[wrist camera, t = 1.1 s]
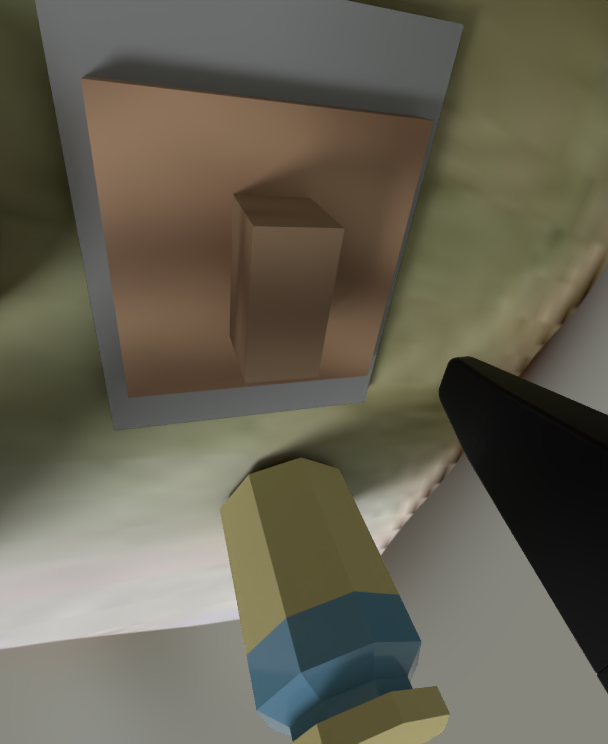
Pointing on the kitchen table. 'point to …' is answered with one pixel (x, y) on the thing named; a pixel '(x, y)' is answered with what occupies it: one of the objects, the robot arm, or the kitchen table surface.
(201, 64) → the charcoal mat
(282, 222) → the walnut cover
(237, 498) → the jar
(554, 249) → the kitchen table surface
